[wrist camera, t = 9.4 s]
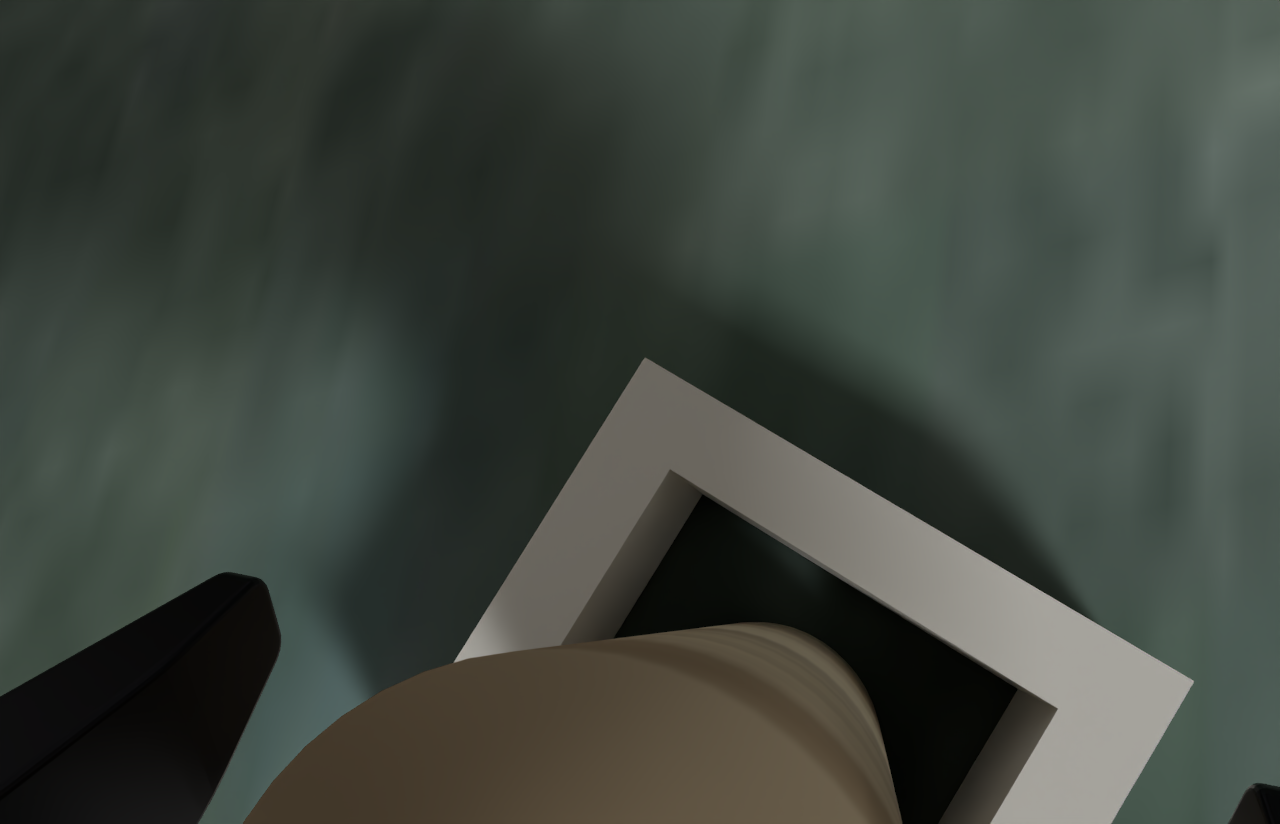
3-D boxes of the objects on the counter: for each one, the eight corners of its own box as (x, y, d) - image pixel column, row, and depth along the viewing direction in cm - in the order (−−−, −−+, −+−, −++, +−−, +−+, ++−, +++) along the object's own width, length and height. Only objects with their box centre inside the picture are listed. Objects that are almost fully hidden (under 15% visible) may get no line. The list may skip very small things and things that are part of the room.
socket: (850, 1135, 17) (849, 1270, 13) (426, 810, 19) (333, 854, 15) (1126, 667, 17) (1194, 681, 14) (681, 401, 19) (644, 357, 16)
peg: (800, 924, 17) (662, 1759, 5) (597, 777, 18) (41, 1145, 6) (928, 709, 18) (1121, 965, 5) (720, 576, 19) (442, 507, 6)
